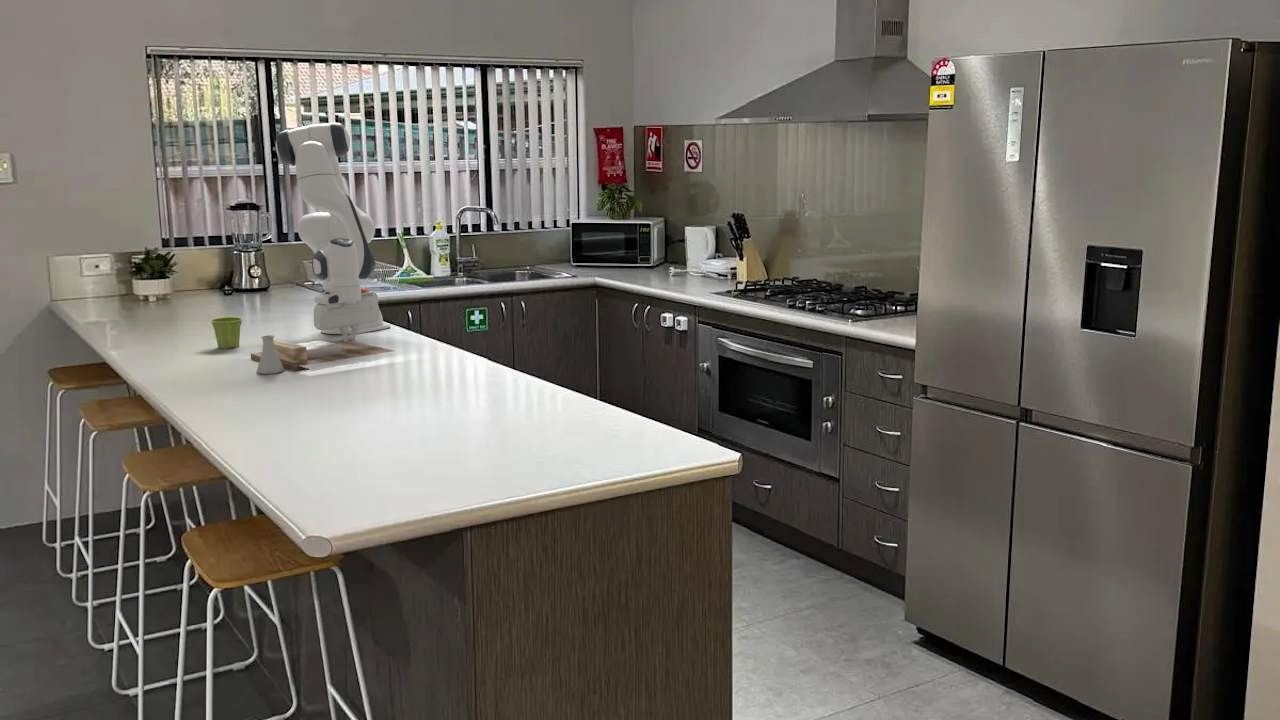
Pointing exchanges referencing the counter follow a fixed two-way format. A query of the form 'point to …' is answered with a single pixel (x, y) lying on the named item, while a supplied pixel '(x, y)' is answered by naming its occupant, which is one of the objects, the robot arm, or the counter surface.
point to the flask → (269, 358)
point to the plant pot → (227, 331)
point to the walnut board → (347, 351)
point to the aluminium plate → (320, 348)
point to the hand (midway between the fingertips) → (349, 341)
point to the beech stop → (290, 351)
